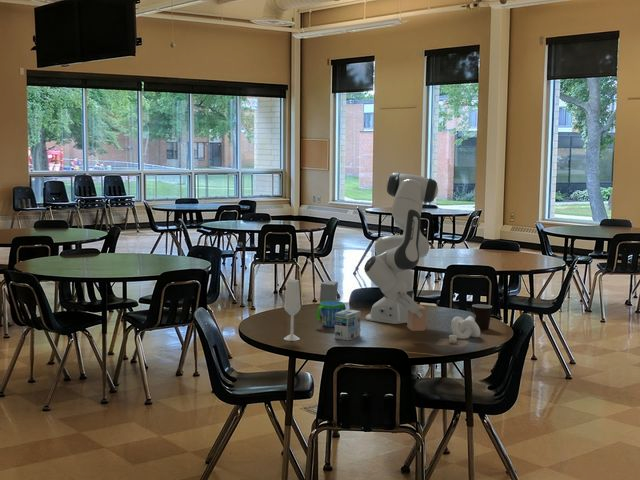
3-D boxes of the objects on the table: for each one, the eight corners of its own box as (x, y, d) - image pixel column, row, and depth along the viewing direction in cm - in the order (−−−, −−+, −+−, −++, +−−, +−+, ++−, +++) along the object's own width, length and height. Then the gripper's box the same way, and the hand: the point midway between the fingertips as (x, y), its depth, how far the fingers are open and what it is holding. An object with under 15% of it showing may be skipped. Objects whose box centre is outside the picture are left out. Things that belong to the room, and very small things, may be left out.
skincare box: (323, 313, 394) (323, 280, 393) (337, 314, 392) (338, 281, 391) (318, 316, 386) (318, 282, 384) (333, 317, 384) (334, 283, 383)
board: (434, 347, 333) (435, 344, 333) (440, 340, 345) (440, 338, 344) (465, 350, 329) (465, 347, 329) (469, 343, 341) (470, 341, 341)
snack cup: (322, 329, 359) (323, 306, 358) (309, 325, 368) (310, 302, 367) (352, 326, 368) (353, 303, 367) (338, 321, 377) (339, 299, 375)
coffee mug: (491, 331, 364) (492, 308, 363) (470, 329, 366) (471, 307, 365) (491, 325, 376) (492, 303, 374) (471, 324, 377) (472, 302, 376)
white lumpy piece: (459, 342, 342) (460, 321, 341) (443, 336, 353) (444, 315, 352) (482, 340, 346) (483, 319, 345) (466, 334, 357) (467, 313, 356)
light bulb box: (347, 340, 341) (348, 314, 339) (333, 338, 344) (334, 312, 343) (360, 336, 350) (361, 310, 348) (346, 333, 353) (347, 308, 352)
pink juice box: (411, 330, 334) (412, 306, 333) (407, 326, 340) (408, 302, 339) (424, 330, 335) (425, 305, 334) (420, 326, 341) (421, 302, 340)
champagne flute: (284, 336, 346) (285, 278, 343) (301, 337, 345) (302, 279, 342) (282, 340, 339) (283, 281, 336) (298, 340, 338) (300, 282, 336)
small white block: (448, 343, 336) (448, 336, 336) (449, 341, 339) (449, 334, 338) (455, 344, 335) (456, 336, 335) (457, 342, 338) (457, 335, 337)
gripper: (408, 289, 324) (431, 314, 327) (394, 280, 343) (416, 303, 347) (397, 301, 323) (420, 325, 327) (383, 290, 343) (405, 313, 346)
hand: (418, 314), depth 337 cm, fingers closed on pink juice box, 6 cm apart
